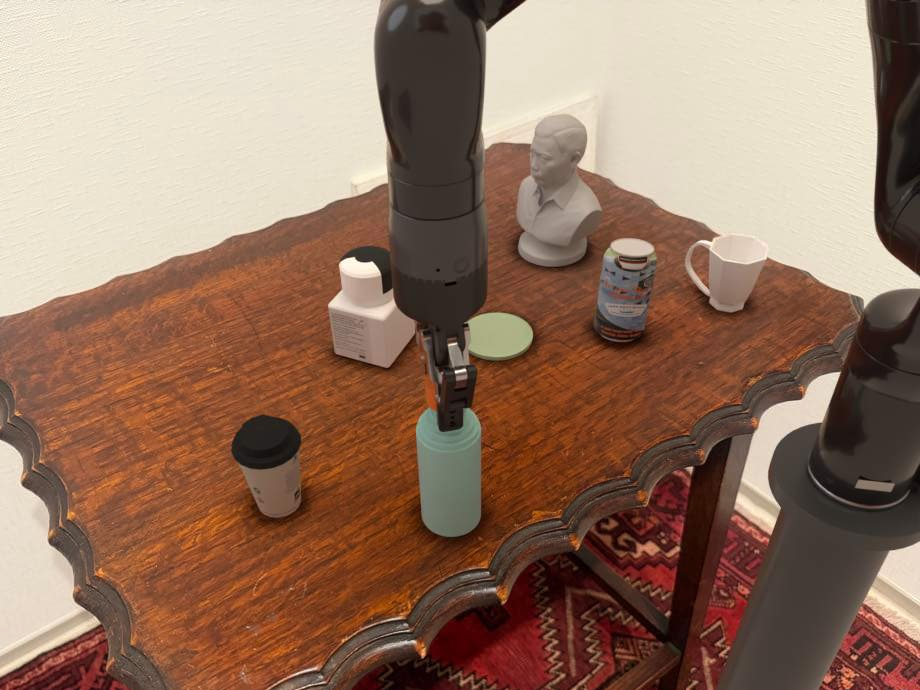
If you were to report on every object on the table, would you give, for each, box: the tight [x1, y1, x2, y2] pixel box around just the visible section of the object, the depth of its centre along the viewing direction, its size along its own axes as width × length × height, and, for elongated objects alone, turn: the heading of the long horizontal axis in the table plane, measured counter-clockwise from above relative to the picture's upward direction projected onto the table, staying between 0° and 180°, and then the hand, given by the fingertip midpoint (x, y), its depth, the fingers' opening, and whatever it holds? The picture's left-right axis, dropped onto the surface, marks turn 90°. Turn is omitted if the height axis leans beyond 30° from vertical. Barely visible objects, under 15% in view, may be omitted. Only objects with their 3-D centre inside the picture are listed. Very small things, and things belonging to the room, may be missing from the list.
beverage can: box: [593, 237, 658, 343], centre depth 103 cm, size 6×7×12 cm
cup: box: [684, 232, 771, 313], centre depth 108 cm, size 7×10×8 cm
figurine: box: [515, 113, 604, 268], centre depth 115 cm, size 9×13×20 cm
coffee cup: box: [230, 414, 302, 519], centre depth 88 cm, size 7×7×10 cm
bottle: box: [415, 406, 482, 538], centre depth 82 cm, size 6×6×18 cm
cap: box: [424, 374, 437, 412], centre depth 77 cm, size 4×4×2 cm
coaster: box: [467, 312, 534, 362], centre depth 108 cm, size 9×9×1 cm
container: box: [327, 245, 416, 369], centre depth 105 cm, size 8×8×13 cm
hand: (444, 411), depth 78 cm, fingers closed on cap, 3 cm apart
